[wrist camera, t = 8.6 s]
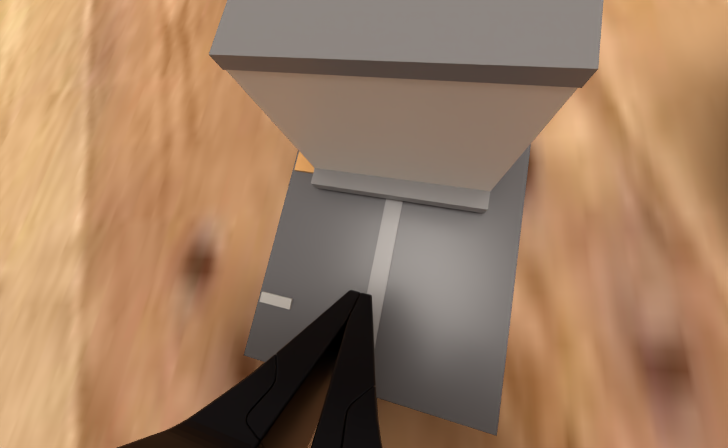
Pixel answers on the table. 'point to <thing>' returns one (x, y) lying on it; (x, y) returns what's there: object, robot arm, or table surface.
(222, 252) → the table surface
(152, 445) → the robot arm
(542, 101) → the fader knob
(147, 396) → the table surface
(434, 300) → the fader console
